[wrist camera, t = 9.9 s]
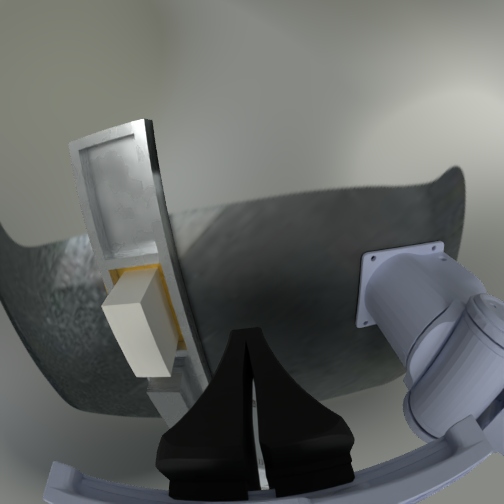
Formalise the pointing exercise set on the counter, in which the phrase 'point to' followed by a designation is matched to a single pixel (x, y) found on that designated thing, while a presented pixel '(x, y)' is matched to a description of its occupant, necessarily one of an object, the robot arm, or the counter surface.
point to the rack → (139, 243)
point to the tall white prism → (143, 322)
